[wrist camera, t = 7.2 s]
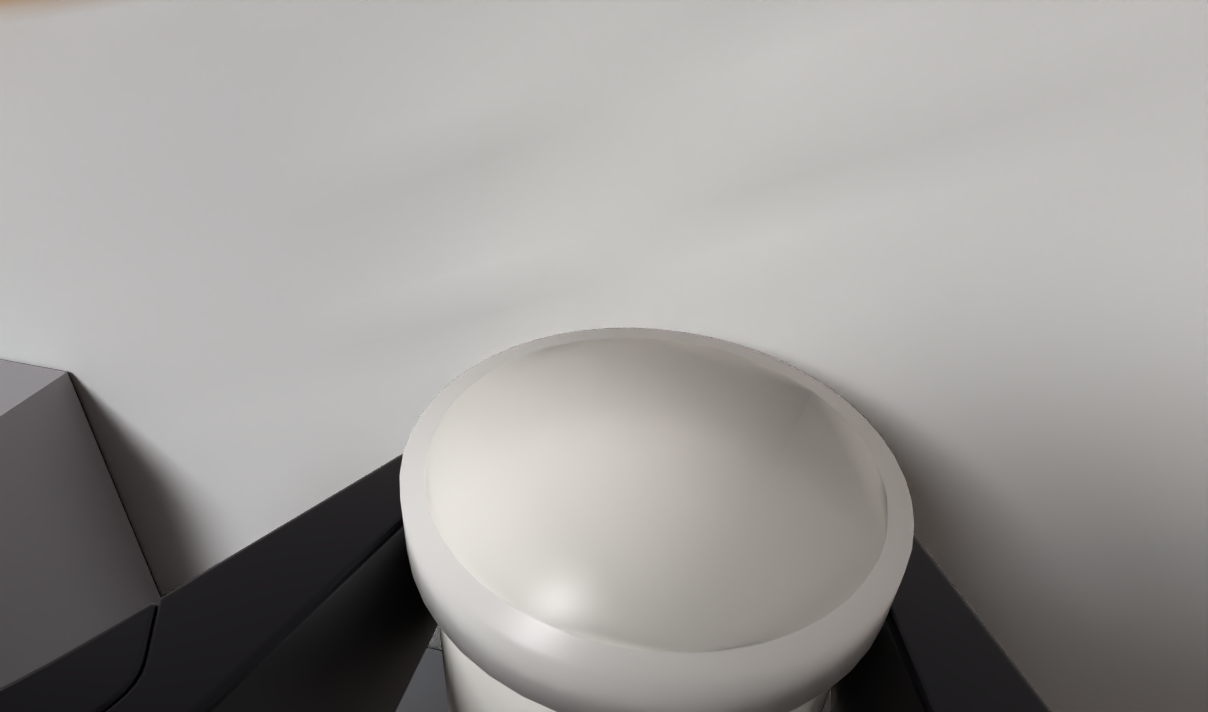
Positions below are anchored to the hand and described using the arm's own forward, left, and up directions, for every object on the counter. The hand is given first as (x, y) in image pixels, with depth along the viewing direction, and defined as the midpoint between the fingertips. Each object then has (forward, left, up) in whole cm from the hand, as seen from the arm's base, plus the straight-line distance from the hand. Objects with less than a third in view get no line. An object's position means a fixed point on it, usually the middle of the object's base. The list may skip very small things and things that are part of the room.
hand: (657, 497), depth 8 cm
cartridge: (-4, 0, -1) cm, 5 cm away
